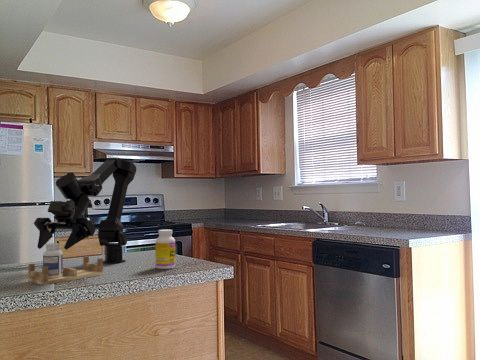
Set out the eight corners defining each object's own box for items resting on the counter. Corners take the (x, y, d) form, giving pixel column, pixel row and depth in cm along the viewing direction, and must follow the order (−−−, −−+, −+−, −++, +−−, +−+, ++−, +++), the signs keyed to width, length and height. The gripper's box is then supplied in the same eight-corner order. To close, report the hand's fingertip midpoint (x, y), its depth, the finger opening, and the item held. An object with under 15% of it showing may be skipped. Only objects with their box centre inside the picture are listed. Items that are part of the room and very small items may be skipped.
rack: (28, 281, 125) (28, 264, 125) (86, 271, 140) (86, 256, 140) (44, 285, 119) (44, 267, 119) (102, 274, 134) (102, 258, 134)
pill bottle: (51, 274, 129) (51, 242, 130) (66, 275, 128) (66, 243, 128) (38, 278, 124) (38, 244, 124) (53, 279, 123) (54, 245, 123)
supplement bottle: (171, 269, 141) (170, 231, 142) (152, 269, 142) (152, 230, 143) (178, 266, 148) (177, 229, 148) (160, 265, 149) (159, 229, 149)
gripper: (37, 192, 134) (10, 230, 123) (89, 191, 129) (66, 231, 118) (54, 215, 141) (30, 253, 130) (104, 215, 136) (83, 255, 126)
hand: (51, 248), depth 126 cm, fingers open, 9 cm apart
